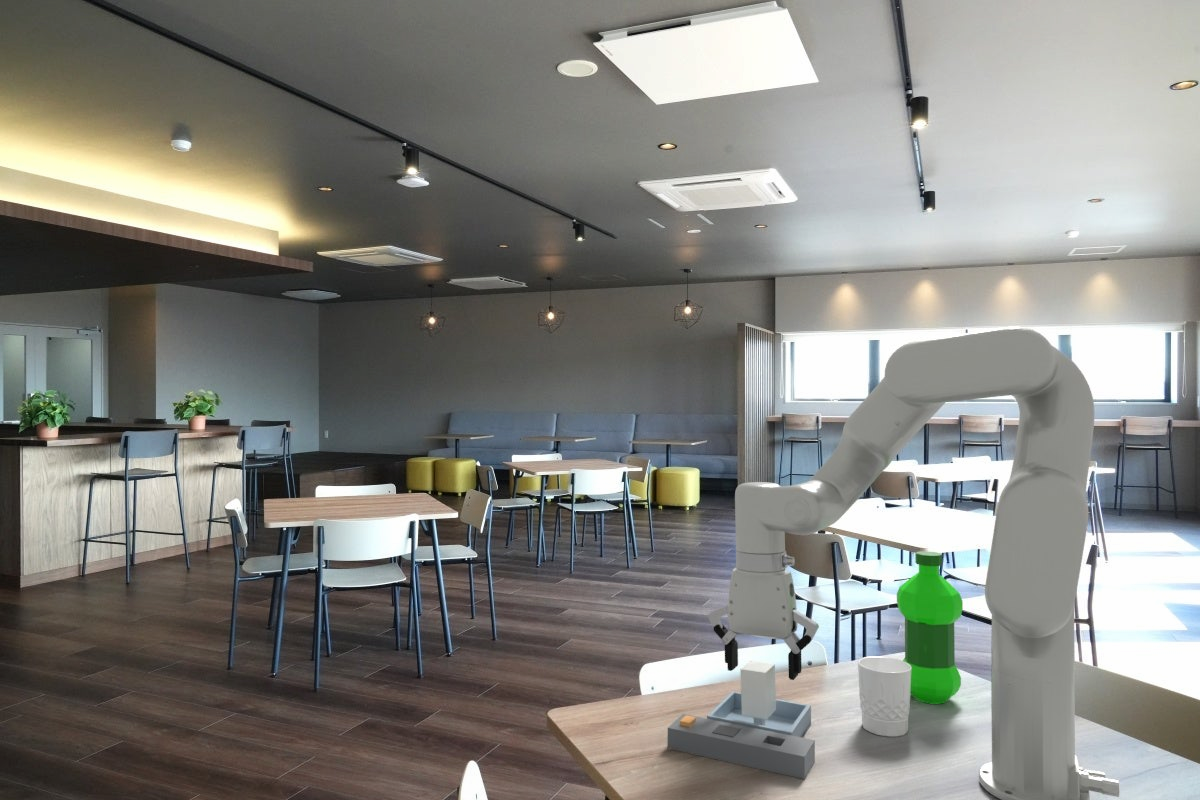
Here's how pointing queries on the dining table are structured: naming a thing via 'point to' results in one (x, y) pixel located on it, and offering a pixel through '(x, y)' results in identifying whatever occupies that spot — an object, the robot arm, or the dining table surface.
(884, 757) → the dining table surface
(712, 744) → the strip
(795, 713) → the tray
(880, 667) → the white cup
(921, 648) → the plastic bottle
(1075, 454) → the robot arm
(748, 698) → the block
